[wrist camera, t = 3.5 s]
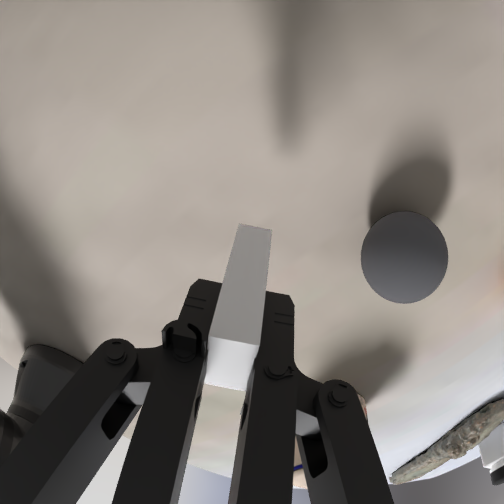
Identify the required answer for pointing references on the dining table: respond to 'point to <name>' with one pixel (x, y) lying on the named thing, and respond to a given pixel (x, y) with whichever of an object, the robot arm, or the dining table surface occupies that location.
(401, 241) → the dark grey ball
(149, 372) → the robot arm
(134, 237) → the dining table surface
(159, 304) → the dining table surface
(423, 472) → the long grey stone
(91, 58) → the dining table surface
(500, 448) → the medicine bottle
